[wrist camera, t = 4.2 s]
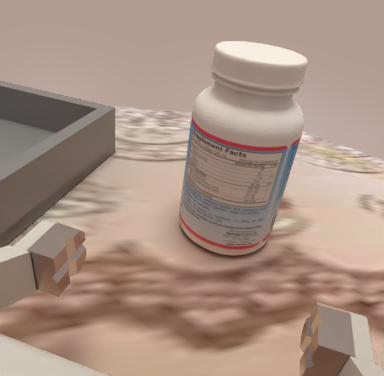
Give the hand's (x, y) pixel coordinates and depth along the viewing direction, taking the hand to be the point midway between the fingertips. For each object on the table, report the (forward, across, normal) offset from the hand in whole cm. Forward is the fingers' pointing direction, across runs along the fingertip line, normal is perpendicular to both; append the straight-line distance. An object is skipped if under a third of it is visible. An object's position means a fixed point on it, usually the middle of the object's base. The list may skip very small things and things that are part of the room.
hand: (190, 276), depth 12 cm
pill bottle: (+10, 0, +6) cm, 12 cm away
